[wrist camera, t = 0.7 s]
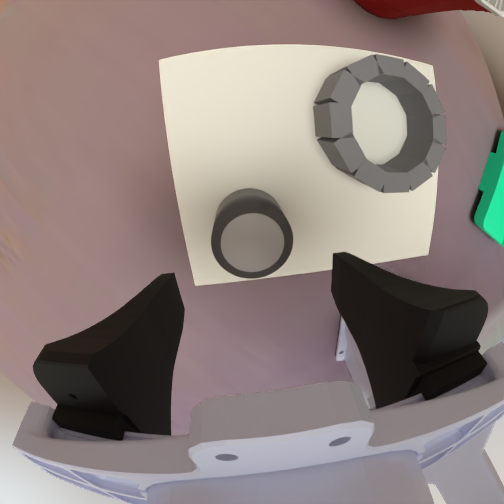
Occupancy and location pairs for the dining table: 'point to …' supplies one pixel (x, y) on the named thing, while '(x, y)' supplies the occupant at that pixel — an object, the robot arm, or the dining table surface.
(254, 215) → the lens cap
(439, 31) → the dining table surface
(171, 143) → the board
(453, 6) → the plastic cup
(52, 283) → the dining table surface
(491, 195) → the camera mount
